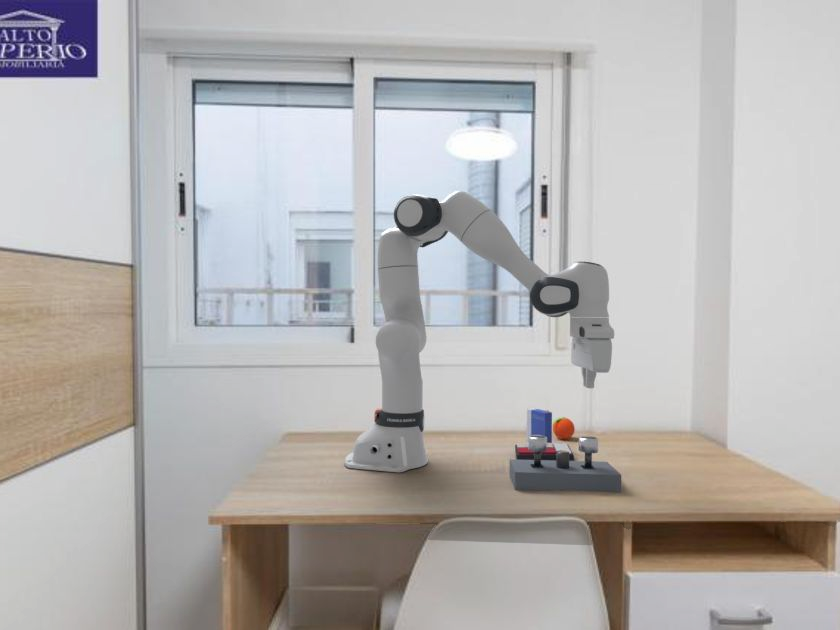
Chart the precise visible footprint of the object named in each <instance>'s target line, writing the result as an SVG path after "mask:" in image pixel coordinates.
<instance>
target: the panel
mask: <svg viewBox="0 0 840 630" xmlns="http://www.w3.org/2000/svg"><path fill="white" fill-rule="evenodd" d="M509 478H510V481H511V483H512V485H513V487H514V490H518V491H519V490H520V491H524V490H525V491H550V490H556V491H557V490H558V491H557V492H559V491H560V492H591V493H593V492H594V493H596V492H597V493H622V474H621V473H620V472H619V471H618V470H617V469H616V468H614V467H613V466H612V465H611V464H610V463H609V462H608V461H596V460H595V461H593V460H592V468H586V467H585V460H574V461H569V468H568V469H562V468H558V467H556V460H541V466H540V467H536V466H534V460H516V459H509ZM556 491H555V492H556Z"/></svg>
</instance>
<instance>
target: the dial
mask: <svg viewBox="0 0 840 630" xmlns="http://www.w3.org/2000/svg"><path fill="white" fill-rule="evenodd" d="M556 467H558V468H562V469H568V468H569V451H563V450H559V451H556Z"/></svg>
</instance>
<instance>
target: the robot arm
mask: <svg viewBox="0 0 840 630" xmlns="http://www.w3.org/2000/svg"><path fill="white" fill-rule="evenodd" d="M393 219H394V223H395V225H396V227H393V228H391V227H390V228H388V229H386V230H385V231H383V232H382V233H381V234H380V236H379V239H378V245H377V246H378V247H377V275H378V278H377V279H378V289H379V290H378V292H379V294H378V295H379V299H380V303H381V305H382V310H383V313H384V319H385V323H384V324H383V325H382V326H381V327H379V330H378V331H377V333H376V336H375V347H376V349H377V353H378V362H379V368H380V374H381V388H382V389H381V400H382V401H381V408H380V407H378V408H376V409H375V410H374V424H372V425H371V426H370V427H368V428H367V429H366V430H364V431H363V432H362V433H360V435H358V437H357V438H356V439H355V443H354V445H353V451H352V452H350V453H348V454H347V455H346V456H345V458H344V466H345V467H346V468H347V469H356V470H368V471H379V472H389V473H403V472H406V471H408V470H412V469H417V468H421V467H423V466H425V465H427V464H428V462H429V460H428V456H427V452H426V447H425V439H424V431H425V410H424V409H423V378H422V372H421V363H420V354H421V353H422V351H423V350H424V349H425V346H426V343H427V331H426V322H425V317H424V310H423V305H422V298H421V291H420V290H421V289H420V281H419V280H420V275H419V265H418V264H419V263H418V252H419V248H425V247H427V246H430V245H432V244H434V243H437V242H439V241H441V240H442V239H444V238H445V237H446V235H447V234H448V233H451V234H452V235H453V236H455V238H456V239H457V240H458V241H460V242H461V243H462V244H463V245H464V246H465V247H466V248H467V249H469V250H470V251H471V252H472V253H474V254H475V255H476V256H478V257H480V258H482V259H484V260H485V261H488V262H490V263H492V264H495V265H496V266H498V267H501V268H502V269H504V270H506V272H507V273H510V275H512V277H514V278H515V279H516V280H517V281H518V282H519V283H520V284H522V286H524V287H525V289H527V290H528V291H529V292H530V293H529V294H530V295H529V297H530V298H529V299H530V302H531V305H532V306H533V308H534V309H535V310H536V311H537V312H539V313H541V314H543V315H545V316H547V317H550V318H560V317H563V316H565V315H567V314H569V337H572V340H571V350H570V352H571V353H570V360H571V362H570V363H571V364H572V365H574V366H577V367H579V368H581V369H580V370H581V375H582V386H583V387H585V388H587V389H594V388H595V381H596V377H597V373H599V374H600V373H601V374H602V373H603V374H605V373H609V372H610V369H611V366H612V357H613V356H612V355H613V354H612V353H613V343H612V339H613V340H614V338H615V330H614V328H613V327H612V326H611V324H610V315H609V311H608V305H609V301H610V284H609V276H608V271H607V269H606V268H605V267H604V266H603V265H601V264H600V263H596V262H590V261H575V262H574V263H572V264H571V265H570V266H568V267H566V268H564V269H563V270H560V271H559V272H556V273H553V274H551V275H550V274H548V273H546V272H545V271H544V270H542V269H541V268H540V267H539V266H538V264H536V263H535V262H534V261H533V260H532V259H530V258H529V257H528V256H527V255H526V254H525V252H524V251H523V250H522V249H521V248H520V246H519V245H518V243H517V242H516V239H515V238H514V237H513V235H512V233H511V232H510V230H509V228H507V226H506V225H505V223H504V222H503V221H502V220H501V219H500V218H499V216H497V214H496V213H495V212H494V211H492V210H491V209H490V208H489V207H488V206H487V205H485V204H484V203H483V202H482V201H480V200H479V199H477V198H476V197H474V196H473V195H471V194H470V193H468V192H465V191H463V190H457V191H454V192H452V193H450V194H448V195H447V197H445V198H444V200H442V201H439V199H438V198H436V197H432V196H427V195H423V194H422V195H421V194H408V195H406V196H403V197H402V198H400V200H399V201H398V202H397V203H396V205H395V207H394V210H393Z"/></svg>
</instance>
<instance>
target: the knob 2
mask: <svg viewBox="0 0 840 630" xmlns="http://www.w3.org/2000/svg"><path fill="white" fill-rule="evenodd" d="M578 451H579V452H581V453H584V461H585V467H586V468H592V461H593V454H597V453H599V438H598V437H596V436H592V435H591V436H590V435H580V436H578Z"/></svg>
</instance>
